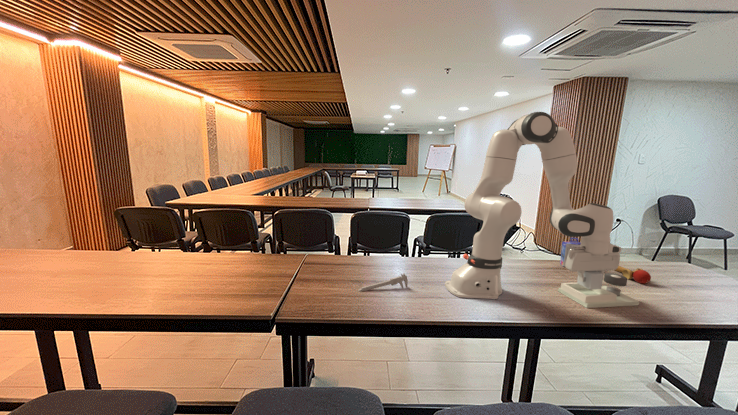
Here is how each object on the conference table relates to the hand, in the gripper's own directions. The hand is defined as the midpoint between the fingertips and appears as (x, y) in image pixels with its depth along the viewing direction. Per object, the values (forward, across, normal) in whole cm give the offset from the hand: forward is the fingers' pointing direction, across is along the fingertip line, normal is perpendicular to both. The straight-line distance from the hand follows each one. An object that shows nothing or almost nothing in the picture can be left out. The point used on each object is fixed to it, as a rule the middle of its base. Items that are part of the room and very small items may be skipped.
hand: (589, 280), depth 119 cm
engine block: (+2, 0, 0) cm, 2 cm away
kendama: (+8, +39, +18) cm, 44 cm away
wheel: (+1, +11, 0) cm, 11 cm away
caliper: (+7, -78, +16) cm, 80 cm away
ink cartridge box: (+8, +23, +34) cm, 42 cm away
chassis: (+7, +4, 0) cm, 8 cm away
